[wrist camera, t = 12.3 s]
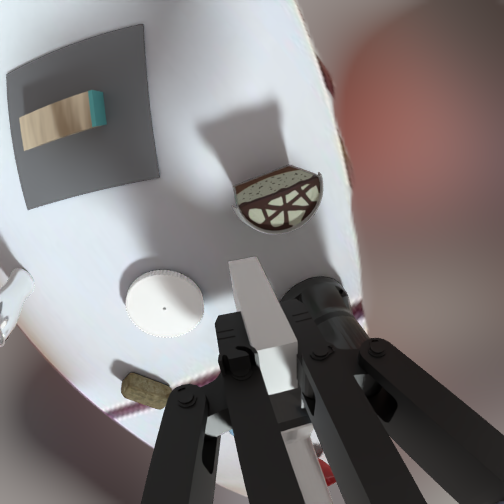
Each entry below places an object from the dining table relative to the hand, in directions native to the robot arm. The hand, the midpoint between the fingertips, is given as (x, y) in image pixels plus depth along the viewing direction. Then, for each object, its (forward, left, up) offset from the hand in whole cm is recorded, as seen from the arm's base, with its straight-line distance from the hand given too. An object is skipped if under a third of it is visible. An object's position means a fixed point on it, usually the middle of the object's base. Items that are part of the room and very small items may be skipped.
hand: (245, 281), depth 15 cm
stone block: (+22, +45, -30) cm, 58 cm away
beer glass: (+39, +13, -30) cm, 51 cm away
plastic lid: (+11, +22, -30) cm, 39 cm away
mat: (+19, -12, -30) cm, 37 cm away
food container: (-9, +5, -30) cm, 32 cm away
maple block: (+14, -12, -27) cm, 32 cm away
